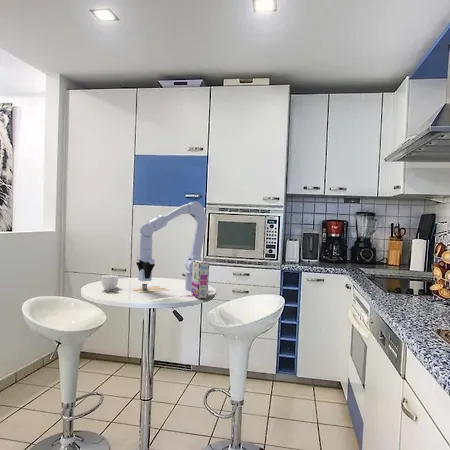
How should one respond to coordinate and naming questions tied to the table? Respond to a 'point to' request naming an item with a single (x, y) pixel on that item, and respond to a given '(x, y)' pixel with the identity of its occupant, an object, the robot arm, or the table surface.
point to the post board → (149, 289)
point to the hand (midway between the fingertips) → (144, 277)
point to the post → (144, 287)
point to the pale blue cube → (143, 276)
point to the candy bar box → (200, 279)
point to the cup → (109, 282)
